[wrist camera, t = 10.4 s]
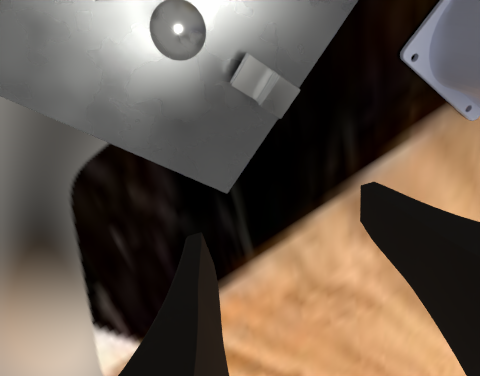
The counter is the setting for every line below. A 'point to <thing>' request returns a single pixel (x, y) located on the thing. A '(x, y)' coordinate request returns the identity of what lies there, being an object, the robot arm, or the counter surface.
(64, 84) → the base
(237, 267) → the counter surface
